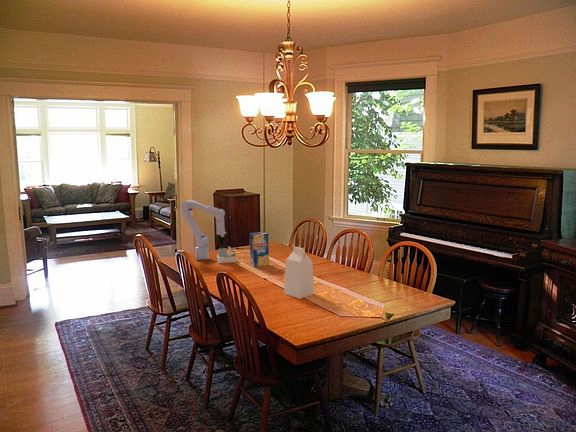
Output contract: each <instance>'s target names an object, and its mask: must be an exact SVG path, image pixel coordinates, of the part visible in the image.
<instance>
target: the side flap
mask: <svg viewBox="0 0 576 432" xmlns="http://www.w3.org/2000/svg"><path fill="white" fill-rule="evenodd" d="M227 248H228V249H229V250H230V251H231V253H232V254H234V255H235V256H237V253H236V252H235V250H233V249H232V247H230V246H228V247H227Z"/></svg>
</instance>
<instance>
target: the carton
mask: <svg viewBox="0 0 576 432" xmlns="http://www.w3.org/2000/svg"><path fill="white" fill-rule="evenodd" d="M216 260H217V262H218V264H229V263H237V255H235V254H234V253H227V256H223V257H219V254H216Z"/></svg>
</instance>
